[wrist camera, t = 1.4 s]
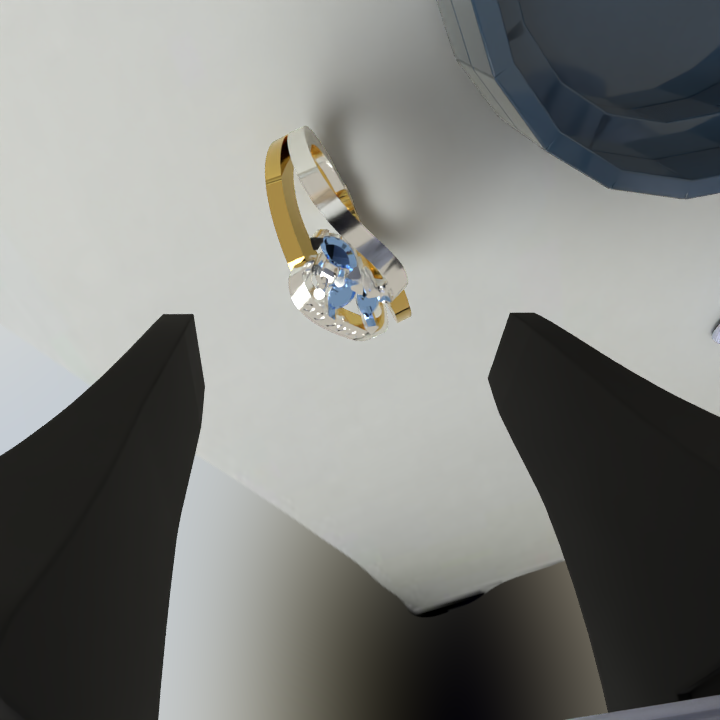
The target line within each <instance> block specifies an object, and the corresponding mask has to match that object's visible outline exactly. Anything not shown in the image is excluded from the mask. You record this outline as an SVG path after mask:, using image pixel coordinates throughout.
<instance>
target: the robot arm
mask: <svg viewBox="0 0 720 720" xmlns="http://www.w3.org/2000/svg"><path fill="white" fill-rule="evenodd" d="M712 339H713V340H714V341H715V342H716V343H718V344H720V324H719V325H718V326H717V328H716V329H715V330H714V332H713V334H712ZM488 381H489V384H490V387H491V390H492V394H493V397H494V400H495V403H496V406H497V408H498V411H499V414H500V416H501V418H502V420H503V422H504V424H505V426H506V428H507V430H508V432H509V434H510V436H511V439H512V441H513V443H514V444H515V446H516V448H517V450H518V452H519V454H520V456H521V458H522V460H523V462H524V464H525V466H526V468H527V470H528V472H529V474H530V476H531V478H532V480H533V482H534V484H535V486H536V488H537V490H538V492H539V494H540V496H541V498H542V501H543V503H544V505H545V507H546V510H547V512H548V515H549V518H550V520H551V523H552V526H553V528H554V531H555V534H556V536H557V539H558V541H559V544H560V547H561V550H562V553H563V556H564V559H565V561H566V564H567V567H568V570H569V573H570V576H571V579H572V582H573V585H574V588H575V591H576V595H577V598H578V601H579V604H580V608H581V611H582V614H583V618H584V621H585V624H586V627H587V631H588V634H589V638H590V642H591V645H592V649H593V653H594V657H595V661H596V665H597V669H598V672H599V676H600V680H601V684H602V688H603V692H604V697H605V701H606V705H607V710H608V713H604V714H598V715H592V716H586V717H579V718H573V719H568V720H720V417H719V416H716V415H714V414H712V413H710V412H708V411H706V410H704V409H702V408H699V407H697V406H695V405H693V404H691V403H689V402H687V401H685V400H683V399H681V398H679V397H677V396H675V395H673V394H671V393H669V392H667V391H665V390H664V389H662V388H660V387H658V386H656V385H655V384H653V383H651V382H649V381H648V380H646V379H644V378H642V377H640V376H639V375H637V374H635V373H633V372H632V371H630V370H628V369H627V368H625V367H623V366H622V365H620V364H618V363H617V362H615V361H613V360H612V359H610V358H608V357H607V356H605V355H604V354H602V353H600V352H599V351H597V350H596V349H594V348H592V347H591V346H589V345H588V344H586V343H585V342H583V341H581V340H580V339H578V338H577V337H575V336H573V335H572V334H570V333H569V332H567V331H566V330H564V329H562V328H561V327H559V326H557V325H556V324H554V323H552V322H551V321H549V320H547V319H545V318H543V317H542V316H540V315H538V314H536V313H510V315H509V317H508V320H507V323H506V326H505V329H504V332H503V335H502V338H501V341H500V344H499V347H498V350H497V353H496V356H495V359H494V361H493V364H492V367H491V370H490V373H489V376H488ZM204 390H205V384H204V378H203V372H202V365H201V359H200V353H199V347H198V340H197V334H196V328H195V321H194V315H193V314H163V315H162V316H161V317H160V318H159V319H158V320H157V321H156V322H155V323H154V324H153V325H152V326H151V327H150V328H149V329H148V330H147V331H146V332H145V333H144V334H143V336H142V337H141V338H140V339H139V340H138V341H137V342H136V343H135V344H134V345H133V346H132V347H131V348H130V349H129V350H128V351H127V352H126V353H125V354H124V355H123V356H122V357H121V358H120V359H119V360H118V361H117V362H116V363H115V364H114V365H113V366H112V367H111V368H110V369H109V370H108V371H107V372H106V373H105V374H104V375H103V376H102V377H101V378H100V379H99V380H98V381H96V382H95V383H94V384H93V385H92V386H91V387H90V388H89V389H87V390H86V391H85V392H84V393H83V394H82V395H81V396H80V397H78V398H77V399H76V400H75V401H74V402H73V403H72V404H71V405H69V406H68V407H67V408H66V409H64V410H63V411H62V412H61V413H59V414H58V415H57V416H56V417H54V418H53V419H52V420H50V421H49V422H48V423H47V424H45V425H44V426H42V427H41V428H40V429H38V430H37V431H36V432H34V433H33V434H32V435H30V436H29V437H28V438H26V439H25V440H24V441H22V442H21V443H19V444H18V445H16V446H15V447H13V448H12V449H10V450H9V451H7V452H6V453H4V454H3V455H1V456H0V720H158V715H159V702H160V689H161V679H162V668H163V657H164V646H165V636H166V626H167V617H168V607H169V598H170V589H171V580H172V571H173V564H174V556H175V547H176V539H177V533H178V527H179V522H180V517H181V512H182V507H183V503H184V499H185V494H186V490H187V486H188V482H189V477H190V473H191V469H192V465H193V460H194V456H195V452H196V447H197V443H198V438H199V434H200V429H201V423H202V413H203V402H204Z"/></svg>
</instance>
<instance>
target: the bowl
mask: <svg viewBox="0 0 720 720" xmlns="http://www.w3.org/2000/svg"><path fill="white" fill-rule="evenodd" d="M436 1H437V4H438V7H439V10H440V13H441V16H442V19H443V22H444V25H445V28H446V31H447V34H448V38H449V41H450V44H451V47H452V50H453V53H454V56H455V57H456V58H457V59H456V60H457V62H458V63H459V64H460V66H461V67H462V69H463V70H464V71H465V73H466V74H467V75H468V77H469V78H470V79H471V81H472V82H473V83H474V85H475V86H476V87H477V89H478V90H479V91H480V93H481V94H482V95H483V97H484V98H485V99H486V101H487V102H488V103H489V105H490V106H491V107H492V109H493V110H494V111H495V113H496V114H497V115H498V117H500V118H501V119H502V120H503V121H504V122H506V123H507V124H509V125H510V126H511V127H513V128H514V129H516V130H517V131H518V132H520V133H521V134H523V135H524V136H525V137H527V138H528V139H529V140H531V141H532V142H534V143H535V144H536V145H538V146H539V147H541V148H542V149H543V150H545V151H546V152H548V153H550V154H551V155H553V156H555V157H556V158H558V159H560V160H561V161H563V162H565V163H566V164H568V165H570V166H571V167H573V168H575V169H576V170H578V171H580V172H581V173H583V174H585V175H586V176H588V177H590V178H591V179H593V180H595V181H596V182H598V183H600V184H601V185H603V186H605V187H606V188H608V189H613V190H620V191H627V192H634V193H641V194H649V195H656V196H663V197H670V198H677V199H690V198H696V197H701V196H706V195H712V194H717V193H720V0H436Z"/></svg>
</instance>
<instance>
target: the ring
mask: <svg viewBox="0 0 720 720" xmlns="http://www.w3.org/2000/svg"><path fill="white" fill-rule="evenodd" d="M294 169H295V171H296V173H297V175H298V178H299V180H300V182H301V183H302V185H303V187H304V189H305V191H306V192H307V194H308V195H309V197H310V198H311V200H312V201H313V203H314V204H315V206H316V207H317V208H318V210H319V211H320V212H321V213H322V215H323V216H324V217H325V218H326V220H327V221H328V222H329V223H330V224H331V225H332V226H333V227H334V229H335V230H336V231H337V232H338V233H339V234H340V235H338V234H334V233H329V230H324V229H320V230H317V231H316V232H315V234H314V235H313V236H312V237H311V238H309V235H308V233H307V231H306V228H305V226H304V223H303V220H302V218H301V215H300V211H299V208H298V204H297V200H296V195H295V189H294V180H293V171H294ZM265 180H266V190H267V196H268V202H269V207H270V211H271V215H272V219H273V223H274V226H275V229H276V233H277V236H278V239H279V242H280V245H281V247H282V250H283V253H284V255H285V258H286V260H287V263H288V265H289V267H290V270H291V273H290V276H289V291H290V295H291V297H292V299H293V301H294V303H295V305H296V306H297V308H298V309H299V310H300V311H301V312H302V313H303V314H304V315H305V316H306V317H307V318H308V319H309V320H311V321H312V322H314V323H315V324H317V325H319V326H320V327H322V328H324V329H326V330H329V331H331V332H333V333H335V334H338V335H340V336H343V337H346V338H349V339H352V340H356V341H367V340H369V339H371V338H373V337H376V336H378V335H380V334H383V333H385V332H386V331H387V328H388V315H387V310H386V306H385V303H387V305H388V307H389V309H390V311H391V313H392V315H393V317H394V319H395V320H396V322H397V323H399V322H401V321H403V320H405V319H407V318H409V317H411V310H410V306H409V303H408V300H407V297H406V294H405V291H404V289H405V288H406V286H407V284H408V277H407V274H406V271H405V269H404V268H403V266H402V264H401V263H400V262H399V260H398V259H397V258H396V257H395V256H394V255H393V254H392V252H391V251H390V250H389V249H388V248H387V247H385V246H384V245H383V244H382V243H381V242H380V241H379V240H378V239H377V238H376V237H375V236H374V235H373V234H372V233H371V232H370V231H369V230H368V229H367V228H365V227H364V226H363V225H362V223H361V220H360V218H359V216H358V214H357V212H356V209H355V207H354V204H353V203H354V202H353V199H352V197H351V194H350V192H349V190H348V188H347V186H346V184H344V183H343V181H342V179H341V177H340V175H339V173H338V171H337V169H336V167H335V166H334V164H333V162H332V160H331V158H330V156H329V155H328V153H327V151H326V150H325V148H324V146H323V145H322V143H321V142H320V140H319V139H318V137H317V136H316V135H315V133H314V132H313V131H312V130H311V129H310V128H309V127H308V126H303V127H301V128H299V129H296V130H294V131H292V132H290V133H289V134H287V135H285V136H283V137H281V138H279V139H277V140H275V141H274V142H273V143H272V144H271V145H270V147H269V149H268V152H267V156H266V163H265ZM320 246H321V249H322V251H323V252H320V253H318V254H317V252H316V250H318V248H319V247H320ZM314 274H315V276H316V279H317V281H318V283H317V285H316V288H315V287H314V285H313V283H312V276H313V275H314ZM327 287H328V290H327V295H324V294H325V291H326V288H327ZM354 296H355V299H356V302H357V305H358V309H359V312H360V315H361V316H360V315H358V314H355V313H353V312H350V311H348V310H346V309H344V308H342V307H343V306H345V305H347V304H348V303H349V302H350V301H351V300H352V299H353V297H354Z"/></svg>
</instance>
